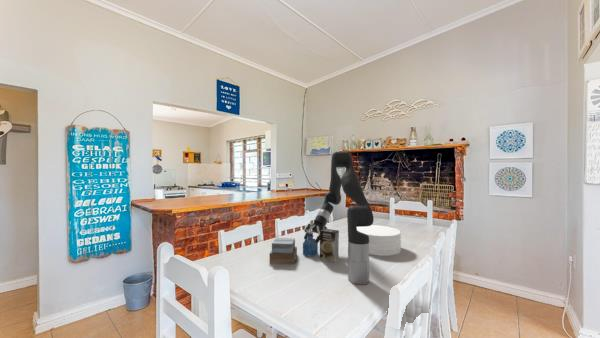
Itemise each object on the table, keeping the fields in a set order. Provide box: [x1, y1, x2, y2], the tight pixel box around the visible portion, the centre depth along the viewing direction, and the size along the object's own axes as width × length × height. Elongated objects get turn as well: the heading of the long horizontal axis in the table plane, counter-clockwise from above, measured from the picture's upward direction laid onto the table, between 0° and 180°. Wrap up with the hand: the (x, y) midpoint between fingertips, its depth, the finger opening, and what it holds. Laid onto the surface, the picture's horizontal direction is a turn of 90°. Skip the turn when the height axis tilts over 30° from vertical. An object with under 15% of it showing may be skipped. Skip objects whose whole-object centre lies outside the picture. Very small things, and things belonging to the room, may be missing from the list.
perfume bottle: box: [302, 232, 319, 257], centre depth 147 cm, size 6×6×12 cm
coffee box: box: [319, 228, 340, 263], centre depth 138 cm, size 9×6×16 cm
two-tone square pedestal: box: [269, 237, 298, 265], centre depth 139 cm, size 13×13×10 cm
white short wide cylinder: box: [357, 224, 402, 257], centre depth 159 cm, size 28×28×12 cm
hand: (310, 240), depth 148 cm, fingers open, 8 cm apart
